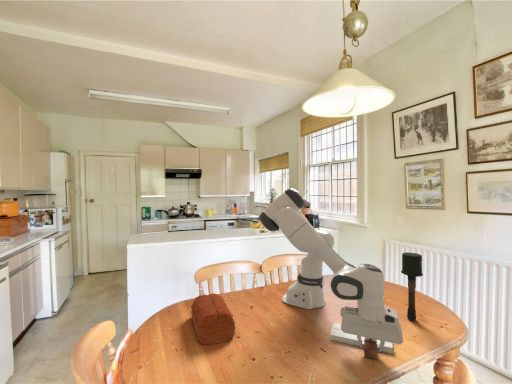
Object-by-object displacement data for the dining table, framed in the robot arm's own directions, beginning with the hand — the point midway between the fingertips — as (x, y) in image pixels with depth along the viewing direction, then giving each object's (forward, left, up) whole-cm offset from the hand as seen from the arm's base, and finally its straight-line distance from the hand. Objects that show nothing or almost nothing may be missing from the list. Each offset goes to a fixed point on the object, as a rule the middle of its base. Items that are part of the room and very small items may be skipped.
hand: (370, 349), depth 94 cm
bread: (-63, -6, -3) cm, 64 cm away
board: (-4, +9, -2) cm, 10 cm away
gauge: (0, +4, -2) cm, 4 cm away
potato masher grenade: (+17, +36, -2) cm, 40 cm away
